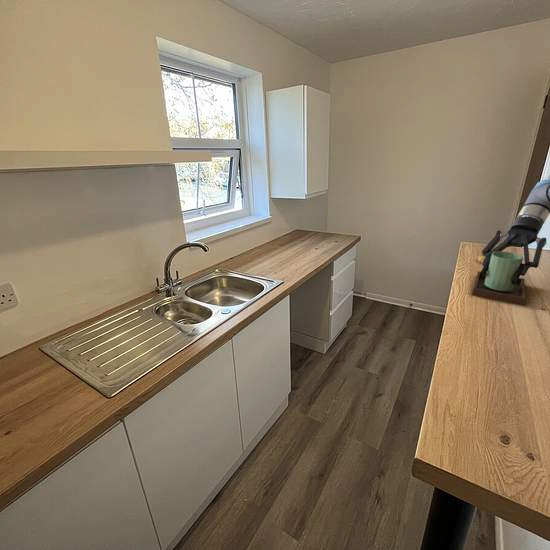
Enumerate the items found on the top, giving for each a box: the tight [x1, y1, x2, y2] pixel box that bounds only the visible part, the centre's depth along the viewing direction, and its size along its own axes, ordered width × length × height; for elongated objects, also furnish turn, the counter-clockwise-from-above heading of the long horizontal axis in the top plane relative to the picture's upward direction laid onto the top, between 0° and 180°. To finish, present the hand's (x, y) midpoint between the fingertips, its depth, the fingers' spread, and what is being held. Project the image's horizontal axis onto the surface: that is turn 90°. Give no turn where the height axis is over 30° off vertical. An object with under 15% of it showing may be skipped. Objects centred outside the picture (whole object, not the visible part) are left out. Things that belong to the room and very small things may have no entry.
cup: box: [484, 250, 524, 291], centre depth 100 cm, size 8×8×11 cm
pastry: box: [476, 253, 485, 264], centre depth 124 cm, size 9×7×4 cm
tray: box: [471, 271, 527, 306], centre depth 102 cm, size 18×14×3 cm
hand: (497, 278), depth 99 cm, fingers closed on cup, 8 cm apart
